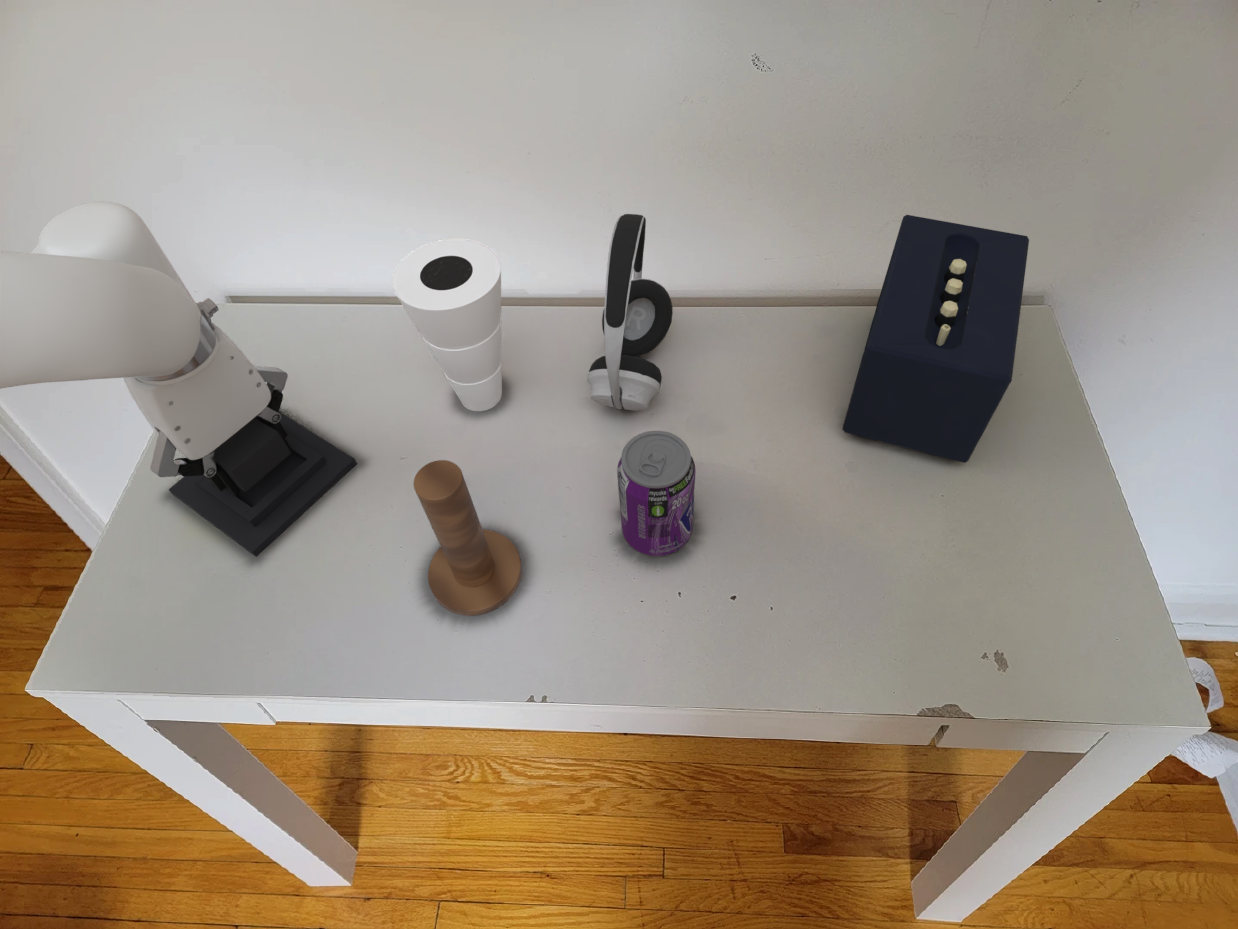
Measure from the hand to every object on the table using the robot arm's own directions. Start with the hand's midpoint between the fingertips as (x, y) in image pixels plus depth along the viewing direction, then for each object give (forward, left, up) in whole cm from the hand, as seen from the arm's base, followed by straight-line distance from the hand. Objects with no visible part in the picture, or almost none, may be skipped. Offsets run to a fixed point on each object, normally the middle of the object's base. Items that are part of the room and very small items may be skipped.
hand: (254, 465), depth 81 cm
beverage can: (+18, -39, -3) cm, 43 cm away
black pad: (0, 0, +1) cm, 1 cm away
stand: (+4, -27, -3) cm, 27 cm away
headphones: (+34, -25, -3) cm, 42 cm away
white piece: (+22, -12, -3) cm, 25 cm away
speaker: (+50, -53, -3) cm, 73 cm away
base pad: (0, 0, -3) cm, 3 cm away
